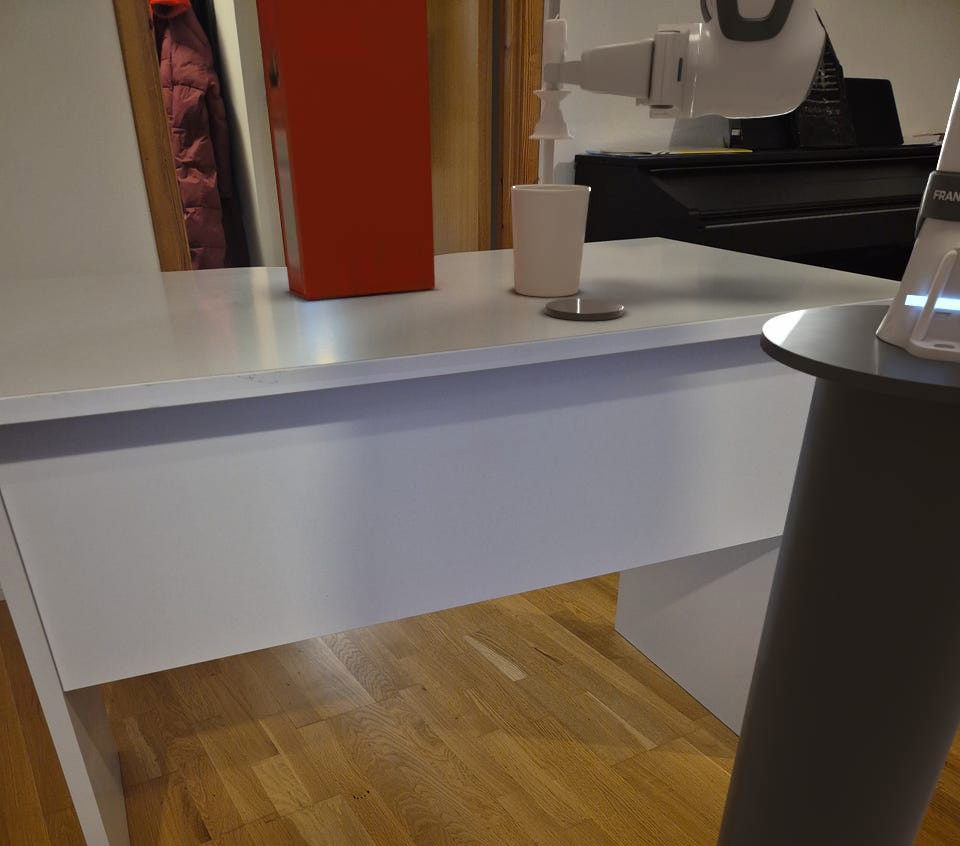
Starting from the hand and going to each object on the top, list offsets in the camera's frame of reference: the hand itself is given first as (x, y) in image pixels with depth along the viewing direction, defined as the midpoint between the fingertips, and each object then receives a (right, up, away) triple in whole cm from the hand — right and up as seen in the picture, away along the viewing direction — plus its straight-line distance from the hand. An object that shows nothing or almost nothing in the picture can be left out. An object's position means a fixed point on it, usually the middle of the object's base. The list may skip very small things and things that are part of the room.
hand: (546, 73), depth 96 cm
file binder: (-23, -20, +13) cm, 33 cm away
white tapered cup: (+1, -20, +13) cm, 24 cm away
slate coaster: (+4, -27, +1) cm, 28 cm away
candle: (+1, -6, +3) cm, 7 cm away
